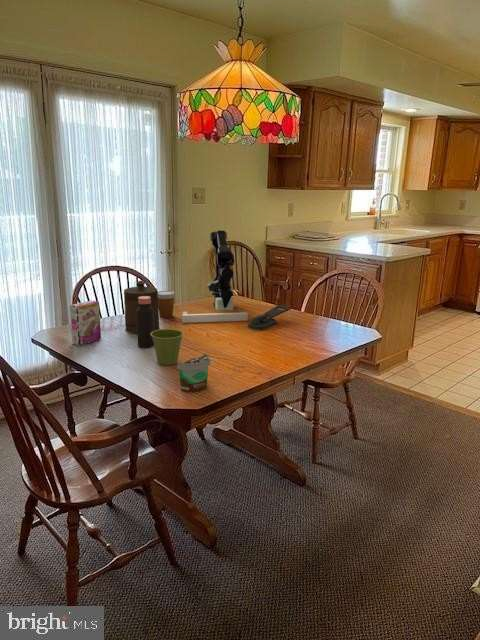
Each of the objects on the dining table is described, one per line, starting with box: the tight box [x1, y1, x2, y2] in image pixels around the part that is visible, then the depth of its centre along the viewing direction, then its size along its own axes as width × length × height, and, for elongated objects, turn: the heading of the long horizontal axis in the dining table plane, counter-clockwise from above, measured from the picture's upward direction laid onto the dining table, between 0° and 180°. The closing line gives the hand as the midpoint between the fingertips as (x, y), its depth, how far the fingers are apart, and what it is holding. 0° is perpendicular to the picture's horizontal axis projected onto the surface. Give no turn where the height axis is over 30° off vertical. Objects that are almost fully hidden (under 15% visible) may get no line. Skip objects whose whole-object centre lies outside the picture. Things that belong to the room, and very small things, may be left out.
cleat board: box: [182, 311, 249, 324], centre depth 234 cm, size 9×31×4 cm, turn 100°
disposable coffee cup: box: [158, 290, 176, 319], centre depth 236 cm, size 10×10×12 cm
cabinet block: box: [215, 297, 234, 311], centre depth 241 cm, size 6×8×6 cm
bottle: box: [136, 296, 155, 349], centre depth 192 cm, size 7×7×20 cm
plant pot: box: [150, 328, 185, 366], centre depth 176 cm, size 12×12×11 cm
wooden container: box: [123, 280, 160, 335], centre depth 213 cm, size 15×15×22 cm
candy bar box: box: [69, 299, 102, 346], centre depth 196 cm, size 11×5×16 cm, turn 145°
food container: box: [176, 352, 212, 393], centre depth 154 cm, size 12×6×10 cm, turn 138°
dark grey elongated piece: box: [247, 304, 292, 332], centre depth 227 cm, size 9×7×25 cm
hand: (224, 306), depth 242 cm, fingers closed on cabinet block, 6 cm apart
